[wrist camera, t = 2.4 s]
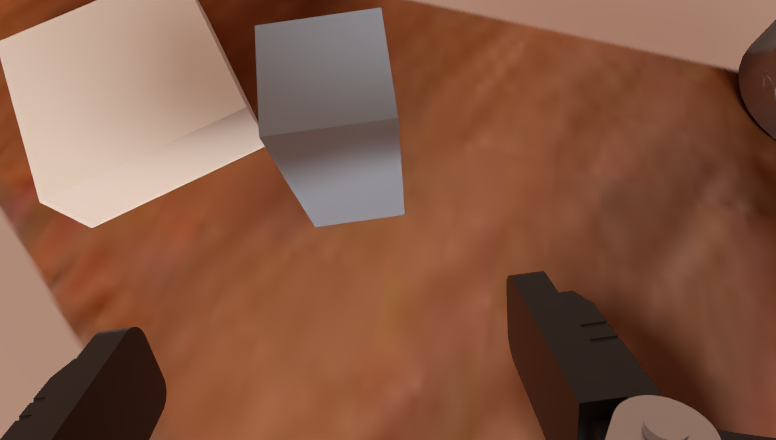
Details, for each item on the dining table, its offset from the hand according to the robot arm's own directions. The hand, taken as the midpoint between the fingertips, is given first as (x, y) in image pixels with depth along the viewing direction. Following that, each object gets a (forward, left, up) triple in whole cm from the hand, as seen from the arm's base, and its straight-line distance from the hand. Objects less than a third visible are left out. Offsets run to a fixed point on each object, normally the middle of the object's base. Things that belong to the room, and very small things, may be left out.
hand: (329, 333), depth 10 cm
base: (+6, -20, -14) cm, 25 cm away
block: (-3, -10, -14) cm, 17 cm away
